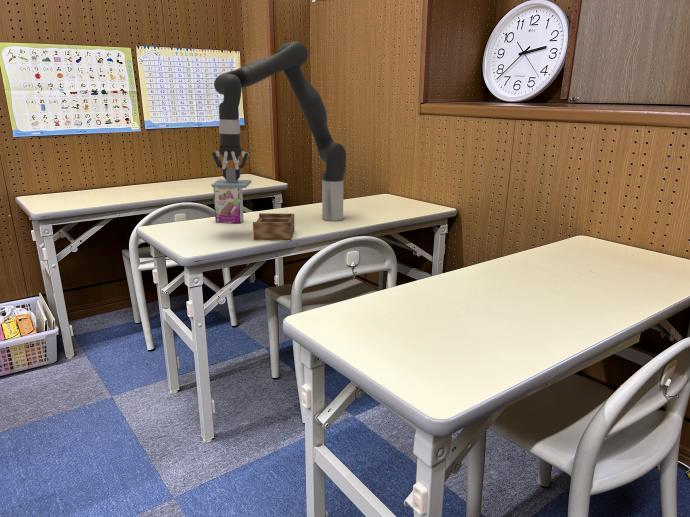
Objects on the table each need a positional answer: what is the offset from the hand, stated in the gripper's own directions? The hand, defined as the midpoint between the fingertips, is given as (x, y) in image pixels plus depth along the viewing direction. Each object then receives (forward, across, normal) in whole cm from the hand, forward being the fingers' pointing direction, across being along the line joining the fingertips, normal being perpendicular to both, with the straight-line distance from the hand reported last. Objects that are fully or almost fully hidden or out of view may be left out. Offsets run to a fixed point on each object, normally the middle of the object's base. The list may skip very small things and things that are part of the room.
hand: (231, 179), depth 188 cm
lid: (+2, 0, 0) cm, 2 cm away
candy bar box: (+22, +6, -21) cm, 31 cm away
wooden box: (+22, -16, 0) cm, 27 cm away
